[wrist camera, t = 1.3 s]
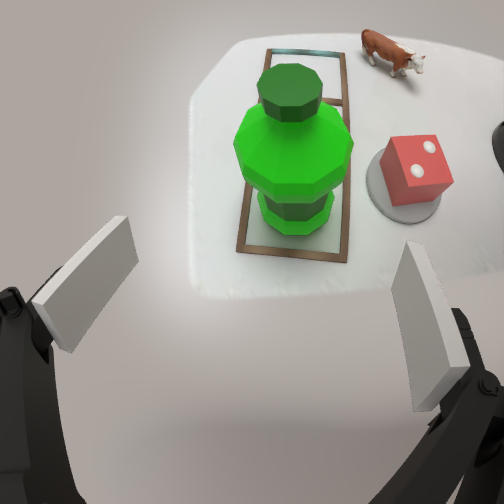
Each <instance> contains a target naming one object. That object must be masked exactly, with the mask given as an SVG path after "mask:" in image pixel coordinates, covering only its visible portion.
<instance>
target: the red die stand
mask: <svg viewBox="0 0 504 504" xmlns="http://www.w3.org/2000/svg"><path fill="white" fill-rule="evenodd" d="M366 182H367V189H368V192H369V195H370V197H371V199H372V201H373V202H374V204H375V205H376V206H377V208H378V209H379V210H380V211H381V212H382V213H383V214H385V215H386V216H387V217H389V218H391V219H393V220H395V221H397V222H400V223H406V224H413V223H418V222H421V221H423V220H425V219H426V218H428V217H429V216H430V215H431V214H433V213H434V212H435V210H436V209H437V207H438V206H439V203H440V200H441V195H442V193H443V192H444V191H445V190H446V189H447V188H448V187H449V186H450V185H451V184H452V183H453V182H454V181H453V178H452V175H451V173H450V170H449V167H448V164H447V162H446V159H445V157H444V154H443V151H442V149H441V147H440V144H439V142H438V139H437V137H436V135H415V136H397V137H391V138H390V140H389V142H388V145H387V147H386V148H384V149H382V150H381V151H379V152H378V153H377V154H376V155H375V156H374V157H373V159H372V161H371V163H370V165H369V168H368V171H367V176H366Z"/></svg>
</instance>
